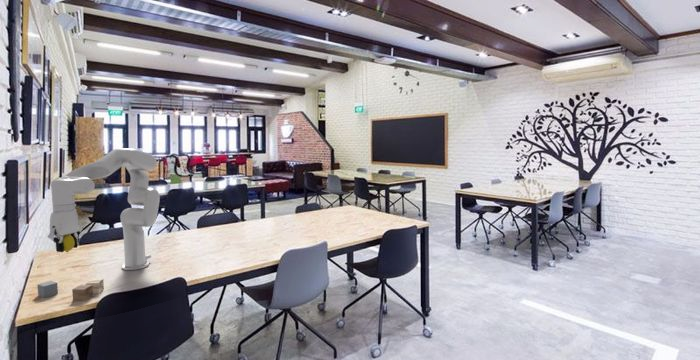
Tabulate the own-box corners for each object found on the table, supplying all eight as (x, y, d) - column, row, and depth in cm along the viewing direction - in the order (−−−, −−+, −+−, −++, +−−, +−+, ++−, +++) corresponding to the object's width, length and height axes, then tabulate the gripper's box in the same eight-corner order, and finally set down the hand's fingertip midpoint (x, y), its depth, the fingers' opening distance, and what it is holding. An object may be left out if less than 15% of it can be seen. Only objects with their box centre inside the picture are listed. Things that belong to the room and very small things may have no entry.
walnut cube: (81, 295, 161) (80, 284, 161) (93, 296, 161) (92, 284, 161) (72, 300, 156) (72, 289, 156) (84, 300, 156) (84, 289, 156)
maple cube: (91, 290, 168) (90, 279, 167) (103, 289, 169) (103, 278, 168) (86, 294, 163) (85, 283, 162) (99, 293, 164) (98, 282, 164)
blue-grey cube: (51, 291, 166) (50, 280, 165) (57, 293, 164) (57, 282, 163) (38, 295, 161) (37, 284, 161) (44, 297, 159) (43, 286, 159)
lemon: (57, 252, 160) (56, 234, 160) (72, 249, 165) (71, 231, 164) (61, 254, 157) (60, 236, 156) (77, 251, 161) (75, 233, 161)
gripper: (75, 204, 168) (77, 243, 170) (36, 211, 151) (40, 255, 153) (89, 205, 167) (91, 244, 168) (51, 212, 150) (55, 256, 152)
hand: (67, 249), depth 161 cm, fingers closed on lemon, 5 cm apart
